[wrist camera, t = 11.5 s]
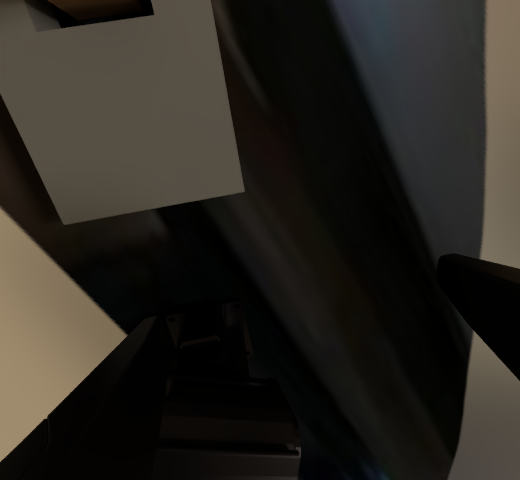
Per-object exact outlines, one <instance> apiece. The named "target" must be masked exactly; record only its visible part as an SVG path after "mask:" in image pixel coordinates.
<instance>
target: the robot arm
mask: <svg viewBox="0 0 520 480" xmlns="http://www.w3.org/2000/svg"><path fill="white" fill-rule="evenodd" d="M436 280H437V283H438V285H439V286H440V288H441V289H442V290H443V292H444V293H445V294H446V296H447V297H448V298H449V300H450V301H451V302H452V304H453V305H454V306H455V308H456V309H457V310H458V312H459V313H460V314H461V316H462V317H463V318H464V319H465V321H466V322H467V323H468V324H469V326H470V327H471V328H472V329H473V330H474V331H475V332H476V333H477V334H478V336H479V337H480V338H481V339H482V340H483V341H484V342H485V343H486V344H487V345H488V347H490V349H491V350H492V351H493V352H494V353H495V354H496V355H497V356H498V358H499V359H500V360H501V361H502V362H503V363H504V364H505V365H506V366H507V367H508V368H509V369H510V371H511V372H512V373H513V374H514V375H515V376H516V377H517V378H518V379H519V381H520V269H518V268H514V267H510V266H506V265H502V264H497V263H493V262H489V261H485V260H480V259H476V258H472V257H468V256H464V255H459V254H455V253H452V254H447V255H443V256H441V257H440V258H439V260H438V267H437V274H436ZM235 304H239V305H238V306H235ZM171 317H173V318H175V319H171ZM166 323H167V325H168V328H169V331H170V333H171V336H172V339H173V341H174V344H175V347H176V353H175V359H174V365H173V369H168V351H169V338H168V335H167V332H166V330H165V327H164V325H163V322H162V320H161V318H160V317H159V316H154V317H149V318H145V319H144V320H143V321H142V322H141V323H140V324H139V325H138V326H137V327H136V328H135V329H134V330H133V331H132V332H131V333H130V334H129V335H128V336H127V337H126V338H125V339H124V340H123V341H122V342H121V343H120V344H119V345H118V346H117V347H116V348H115V349H114V350H113V351H112V352H111V353H110V354H109V355H108V356H107V357H106V358H105V359H104V360H103V361H102V362H101V363H100V364H99V365H98V366H97V367H96V368H95V369H94V370H93V371H92V372H91V373H90V374H89V375H88V376H87V377H86V378H85V379H84V380H83V381H82V382H81V383H80V384H79V385H78V386H77V387H76V388H75V389H74V390H73V391H72V392H71V393H70V394H69V395H68V396H67V397H66V398H65V399H64V400H63V401H62V402H61V403H60V404H59V405H58V406H57V407H56V408H55V409H54V410H53V411H52V412H51V413H50V414H49V415H48V417H47V419H44V420H43V421H42V422H41V423H40V424H39V425H38V426H37V427H36V428H35V429H34V430H33V431H32V432H31V433H30V434H29V435H28V436H27V437H26V438H25V439H24V440H23V441H22V442H21V443H20V444H19V445H18V446H17V447H16V448H14V449H13V451H11V452H10V453H9V454H8V455H7V456H6V457H5V458H4V459H3V460H2V461H1V462H0V480H297V475H298V471H299V466H300V458H301V441H300V432H299V427H298V423H297V420H296V417H295V415H294V413H293V411H292V409H291V407H290V405H289V403H288V401H287V399H286V397H285V395H284V393H283V392H282V390H281V388H280V386H279V384H278V382H277V380H276V379H275V378H268V379H261V378H251V377H249V371H248V363H247V357H250V356H252V355H253V349H252V344H251V340H250V335H249V330H248V326H247V321H246V317H245V312H244V308H243V303H242V301H241V300H240V299H231V300H227V301H222V302H217V303H216V302H215V303H210V304H205V305H200V306H196V307H191V308H187V309H183V310H178V311H173V312H170V313H168V314H167V316H166ZM247 351H249V352H247Z"/></svg>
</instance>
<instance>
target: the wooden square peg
mask: <svg viewBox="0 0 520 480" xmlns="http://www.w3.org/2000/svg"><path fill="white" fill-rule="evenodd" d="M48 1H49V2H51V3H52V4H54V5H55V6H57V7H58V8H60V9H62V10H63V11H65V12H66V13H68V14H69V15H71V16H72V17H74V18H75V19H77V20H84V19H91V18H98V17H105V16H112V15H118V14H125V13H132V12H139V11H142V8H141V4H140V0H48Z"/></svg>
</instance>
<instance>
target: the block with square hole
mask: <svg viewBox="0 0 520 480" xmlns="http://www.w3.org/2000/svg"><path fill="white" fill-rule="evenodd" d="M151 2H152V6H153V10H154V14H155V15H151V16H144V17H137V18H130V19H124V20H117V21H110V22H103V23H96V24H89V25H82V26H75V27H68V28H60V25H59V22H58V20H57V17H56V14H55V11H54V9H53V6H52V3H51V2H49V1H48V0H0V94H1V96H2V98H3V100H4V102H5V104H6V106H7V108H8V110H9V113H10V115H11V117H12V119H13V121H14V123H15V125H16V127H17V129H18V131H19V133H20V135H21V137H22V139H23V142H24V144H25V146H26V148H27V150H28V152H29V154H30V156H31V158H32V160H33V162H34V164H35V166H36V168H37V171H38V173H39V175H40V177H41V179H42V181H43V183H44V185H45V187H46V189H47V191H48V193H49V195H50V197H51V200H52V202H53V204H54V206H55V208H56V210H57V212H58V214H59V216H60V218H61V220H62V222H63V224H64V225H67V224H72V223H78V222H83V221H88V220H94V219H99V218H105V217H110V216H115V215H121V214H126V213H132V212H137V211H143V210H148V209H153V208H159V207H164V206H170V205H175V204H180V203H186V202H191V201H197V200H202V199H208V198H213V197H218V196H224V195H229V194H235V193H240V192H245V191H244V185H243V180H242V174H241V168H240V163H239V157H238V151H237V146H236V140H235V135H234V129H233V123H232V118H231V112H230V106H229V101H228V95H227V90H226V84H225V78H224V73H223V67H222V62H221V56H220V50H219V45H218V39H217V33H216V28H215V22H214V17H213V11H212V5H211V0H151Z"/></svg>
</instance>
